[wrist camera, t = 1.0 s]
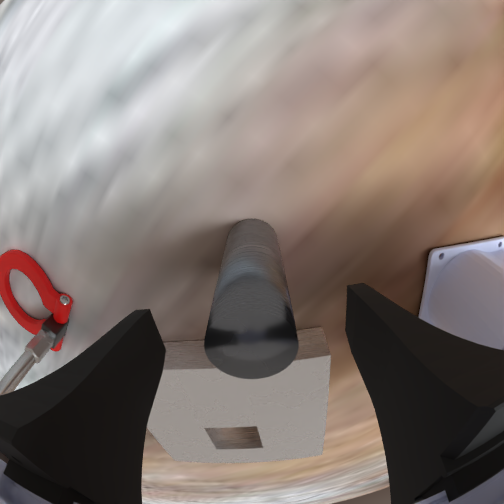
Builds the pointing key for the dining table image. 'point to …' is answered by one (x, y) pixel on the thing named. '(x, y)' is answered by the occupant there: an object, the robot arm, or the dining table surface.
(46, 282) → the tow hook
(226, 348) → the pin
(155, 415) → the bore block
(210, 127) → the dining table surface
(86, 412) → the robot arm
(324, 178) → the dining table surface
